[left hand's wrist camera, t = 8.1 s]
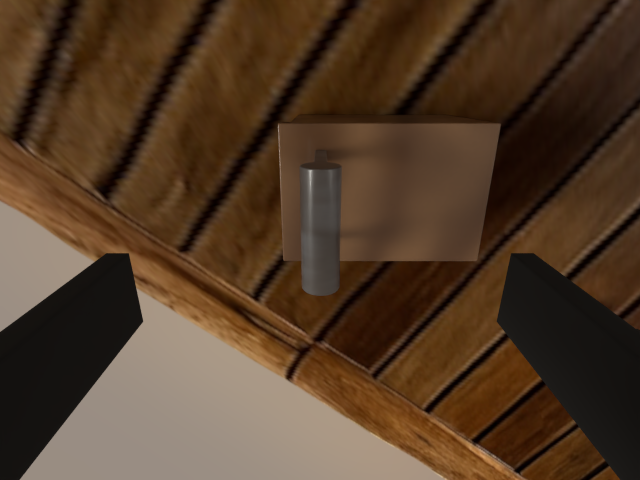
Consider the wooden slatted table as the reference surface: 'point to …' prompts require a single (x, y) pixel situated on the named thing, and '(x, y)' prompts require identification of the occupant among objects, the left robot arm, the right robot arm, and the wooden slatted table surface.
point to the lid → (382, 193)
